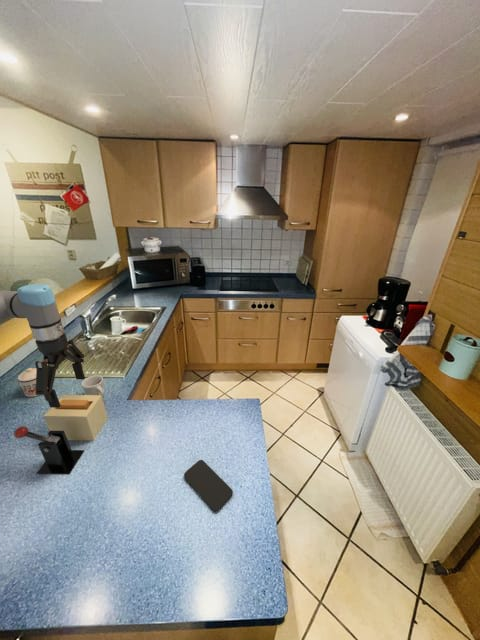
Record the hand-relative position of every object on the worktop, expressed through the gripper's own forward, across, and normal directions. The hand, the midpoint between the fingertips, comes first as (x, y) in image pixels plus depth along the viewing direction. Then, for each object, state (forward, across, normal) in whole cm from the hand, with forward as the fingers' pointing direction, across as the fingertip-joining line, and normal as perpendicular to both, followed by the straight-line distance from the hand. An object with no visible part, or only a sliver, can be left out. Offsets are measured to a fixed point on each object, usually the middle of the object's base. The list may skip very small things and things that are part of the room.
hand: (69, 391), depth 84 cm
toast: (+16, 0, 0) cm, 16 cm away
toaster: (+18, 0, 0) cm, 18 cm away
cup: (+18, +17, +3) cm, 25 cm away
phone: (+18, -19, -48) cm, 55 cm away
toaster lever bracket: (+18, -13, -1) cm, 22 cm away
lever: (+7, -13, +4) cm, 15 cm away
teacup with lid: (+18, +21, +30) cm, 41 cm away
